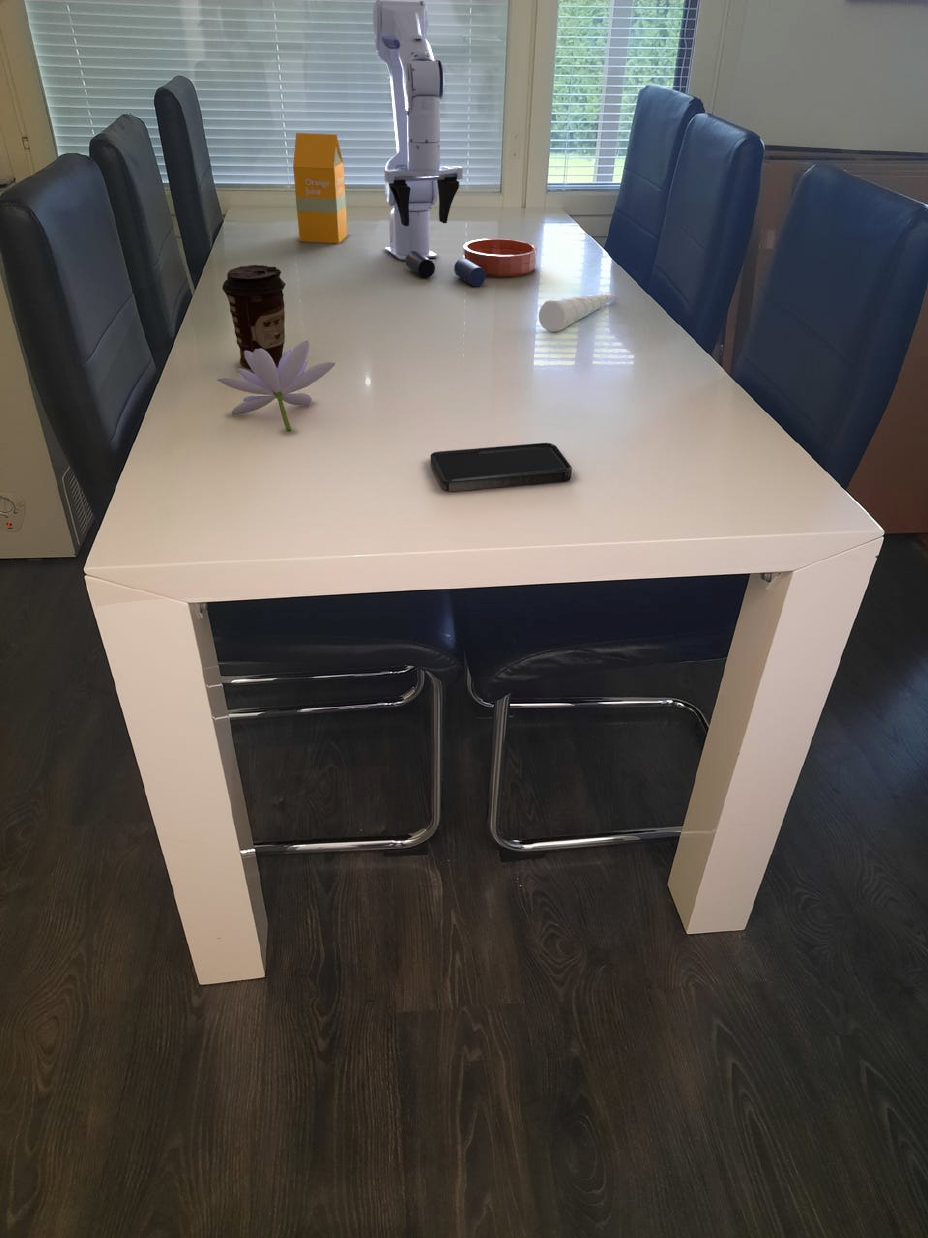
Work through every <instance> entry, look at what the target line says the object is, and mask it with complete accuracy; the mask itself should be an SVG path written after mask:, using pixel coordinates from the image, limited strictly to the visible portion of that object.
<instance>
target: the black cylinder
mask: <svg viewBox="0 0 928 1238" xmlns="http://www.w3.org/2000/svg"><path fill="white" fill-rule="evenodd" d="M404 261H405V265H406V267H407V268H408V269H410V270H411V271H412V272H414V273H415V274H417V275H418V276H420V277H421V278H423V279H429V278H431V277H432V276H433V275H434V274H435V271H436V265H435V263H434V261H433V260H431V258H426V257H425V256H423V255H422V254H420V253H419V252H417V251H411V252H410V253H408V254H407V256H406V260H404Z"/></svg>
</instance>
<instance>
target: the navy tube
mask: <svg viewBox="0 0 928 1238" xmlns="http://www.w3.org/2000/svg"><path fill="white" fill-rule="evenodd" d="M453 270H454V273H455V275H456V276H457V277H458V278H460V279H461V280H463V281H465V282H466V283H468V284H469V285H470V286H472V287H475V288H478V287H481V286H482V285H484V283H485V281H486V279H487V276H486V273H485V271H484V270H483V269H482V268H480V267H479V266H477V265H475V264H474V263H472V262H470V261H469V260H467V259H463V258H459V259H458V260H457V261H456V262H455V264H454V267H453Z"/></svg>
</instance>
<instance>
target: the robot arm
mask: <svg viewBox="0 0 928 1238" xmlns="http://www.w3.org/2000/svg"><path fill="white" fill-rule="evenodd" d="M372 8H373V9H372V20H373V21H372V23H373V24H372V25H373V35H374V44H375V51H376V53H377V58H378V59H379V60H381V61H382V62H383V63H385V64H386V67H387V72H388V76H389V80H390V92H391V102H392V103H391V104H392V112H393V123H394V134H395V144H396V153H395V154H394V155H393V156H392V157H391V158H390V159H389V160H388V161H387V162H386V165H385V169H384V190H385V191H384V193H385V199H386V203H387V204H388V205H389V207H392V209H391V211H390V213H389V218H388V225H389V226H388V228H389V246H387V247H385V251H387V252H388V253H389V254H391V255H393V257H396V259H399V260H400V261H405V260H406V256H407V254H408V253H410V252H411V251H417V252H419V253H420V254H422V255H423V256H425V257H426V258H428V259H432V258H437V257H438V254H437V253H435V252H433V251H431V245H430V244H431V239H430V238H431V237H430V235H431V234H430V232H431V231H430V230H431V228H430V225H431V221H430V220H431V219H430V212H431V211H430V210H432V209H433V208H432V206H434V205H435V204H436V203H437V201H438V202H439V203H438V220H439V222H440V223H442V224H448V218H449V214H450V210H451V206H452V203H453V202H454V198H455V196H456V194H457V192H458V190H459V188H460V181H459V180H463V175H464V173H463V170H464V168H463V167H462V166H459V165H441V163H440V162H441V100H442V99H443V96H444V90H445V74H444V73H445V72H444V67H443V66H444V65H443V62H442V60H441V59H435V57H434V55H433V51H432V47H431V45H430V43H429V41H428V40H427V39H428V35H429V10H428V5H427V4H426V2H425V1H424V0H420V1H405V0H404V1H403V0H375V2H374V4H373V7H372Z"/></svg>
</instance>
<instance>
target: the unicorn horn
mask: <svg viewBox="0 0 928 1238" xmlns="http://www.w3.org/2000/svg"><path fill="white" fill-rule="evenodd" d="M615 296H616V295H615V294H614V293H613V294H611V293H602V294H591V295H590V294H589V295H582V296H573V297H565V298H557V299H555V298H554V299H549V300H546V301H544V303H542V304H541V306H540V308H539V312H538V320H539V324H540V325H541V327H542V328H543V329H544V330H546V331H547V332H551V333H555V332H560V331H562V330H564V329H565V328H567V327H569V326H571V325H572V324H574V323H576V322H578V321H579V320H581V319H584V318H585V317H586V316H587V317H588V315H590V314H592V313H593V312H595V311H597V310H598V309H600V308H601V307H603V306H605V305H606V304H607V303H609V302H610V301H612V300H613V299H614V298H615Z"/></svg>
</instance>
